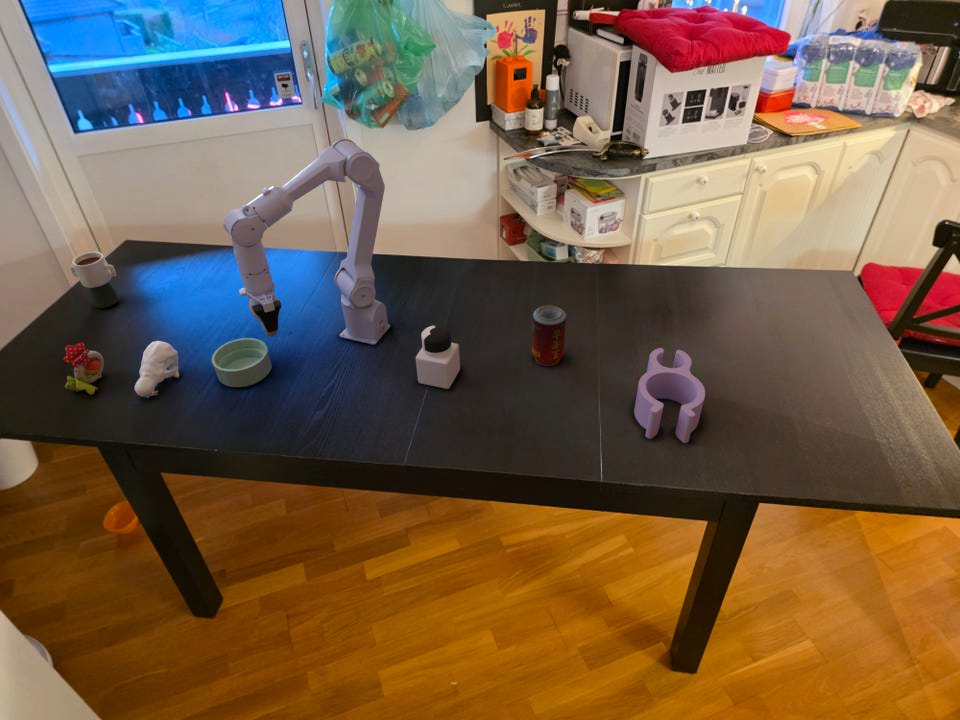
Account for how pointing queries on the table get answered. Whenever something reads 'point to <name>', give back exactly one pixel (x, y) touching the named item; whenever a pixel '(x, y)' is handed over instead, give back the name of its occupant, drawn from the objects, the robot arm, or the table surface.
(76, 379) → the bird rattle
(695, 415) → the clip
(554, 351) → the soda can
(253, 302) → the lightbulb
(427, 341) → the medicine bottle
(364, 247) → the robot arm
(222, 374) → the bowl
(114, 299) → the character mug
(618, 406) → the table surface
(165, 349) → the white crouching figurine
